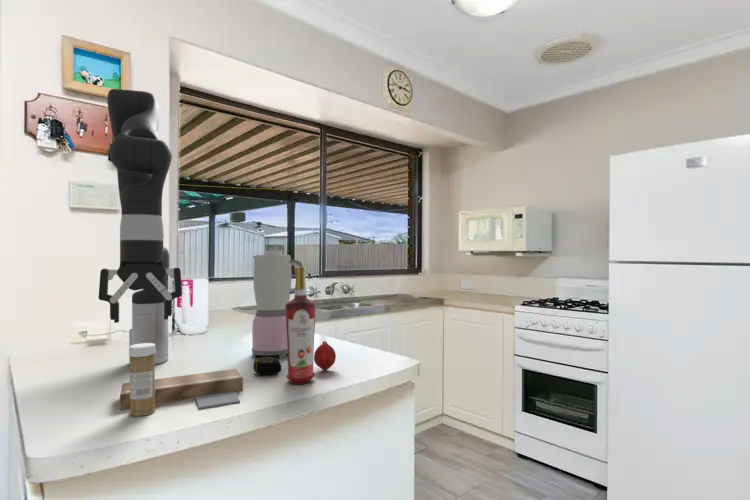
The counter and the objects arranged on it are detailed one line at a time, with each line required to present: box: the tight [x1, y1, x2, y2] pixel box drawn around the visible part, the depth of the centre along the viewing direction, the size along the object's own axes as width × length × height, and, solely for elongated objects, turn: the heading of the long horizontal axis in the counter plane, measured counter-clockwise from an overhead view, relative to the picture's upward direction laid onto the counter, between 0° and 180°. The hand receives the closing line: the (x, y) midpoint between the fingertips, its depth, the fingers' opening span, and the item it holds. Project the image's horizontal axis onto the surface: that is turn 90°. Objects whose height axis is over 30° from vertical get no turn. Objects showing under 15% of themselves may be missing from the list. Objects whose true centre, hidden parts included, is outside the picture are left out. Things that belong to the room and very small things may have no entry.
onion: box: [313, 340, 337, 372], centre depth 111 cm, size 6×6×8 cm
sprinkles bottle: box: [128, 343, 157, 417], centre depth 83 cm, size 5×5×14 cm
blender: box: [251, 250, 304, 359], centre depth 129 cm, size 16×12×32 cm
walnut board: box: [119, 368, 244, 410], centre depth 93 cm, size 24×8×3 cm, turn 118°
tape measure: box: [253, 356, 282, 376], centre depth 109 cm, size 7×7×4 cm
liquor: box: [285, 266, 317, 385], centre depth 102 cm, size 7×7×28 cm
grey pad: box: [195, 391, 241, 410], centre depth 89 cm, size 8×7×1 cm
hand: (142, 320), depth 83 cm, fingers open, 8 cm apart
